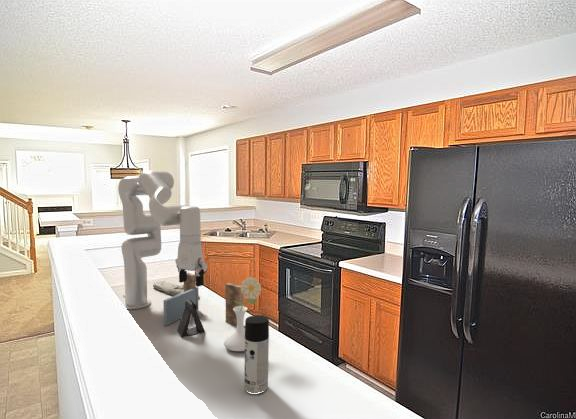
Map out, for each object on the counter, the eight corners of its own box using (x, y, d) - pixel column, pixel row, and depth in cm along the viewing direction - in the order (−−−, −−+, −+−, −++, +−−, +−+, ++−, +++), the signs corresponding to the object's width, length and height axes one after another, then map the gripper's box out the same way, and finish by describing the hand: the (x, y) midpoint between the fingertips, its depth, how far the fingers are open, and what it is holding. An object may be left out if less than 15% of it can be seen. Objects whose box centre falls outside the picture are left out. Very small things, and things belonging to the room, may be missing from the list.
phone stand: (181, 337, 128) (181, 306, 127) (177, 331, 133) (177, 301, 132) (205, 332, 132) (204, 302, 131) (200, 326, 137) (200, 297, 137)
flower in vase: (225, 356, 114) (225, 283, 112) (222, 341, 125) (222, 274, 123) (263, 352, 118) (264, 280, 116) (257, 337, 129) (258, 272, 127)
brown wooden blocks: (183, 307, 158) (183, 273, 157) (187, 306, 160) (187, 272, 159) (239, 326, 138) (239, 287, 137) (243, 324, 140) (243, 286, 139)
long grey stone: (164, 286, 195) (148, 292, 187) (163, 277, 194) (147, 282, 187) (204, 296, 174) (188, 302, 166) (203, 285, 173) (187, 291, 166)
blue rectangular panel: (196, 308, 156) (196, 287, 155) (199, 309, 155) (199, 287, 154) (163, 324, 138) (163, 300, 137) (167, 325, 137) (166, 300, 137)
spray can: (244, 381, 100) (245, 314, 98) (268, 381, 100) (268, 314, 99) (243, 395, 93) (244, 324, 92) (268, 395, 94) (269, 323, 92)
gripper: (167, 238, 132) (168, 282, 133) (197, 242, 122) (198, 290, 123) (183, 236, 138) (184, 278, 139) (213, 240, 128) (214, 285, 129)
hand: (191, 283), depth 131 cm, fingers open, 9 cm apart
